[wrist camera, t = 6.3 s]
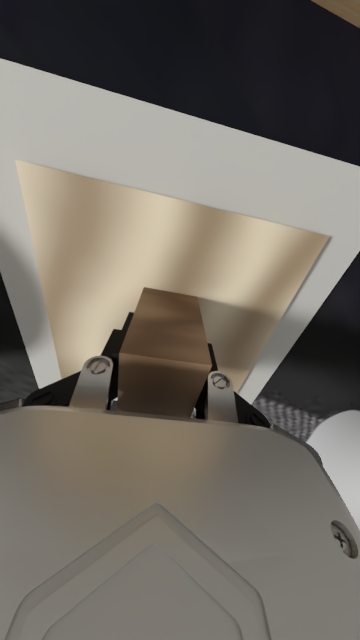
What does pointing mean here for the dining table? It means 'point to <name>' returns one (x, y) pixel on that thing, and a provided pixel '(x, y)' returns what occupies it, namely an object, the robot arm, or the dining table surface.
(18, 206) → the rubber mat
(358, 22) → the cutting board
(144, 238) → the oak lid
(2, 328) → the dining table surface
